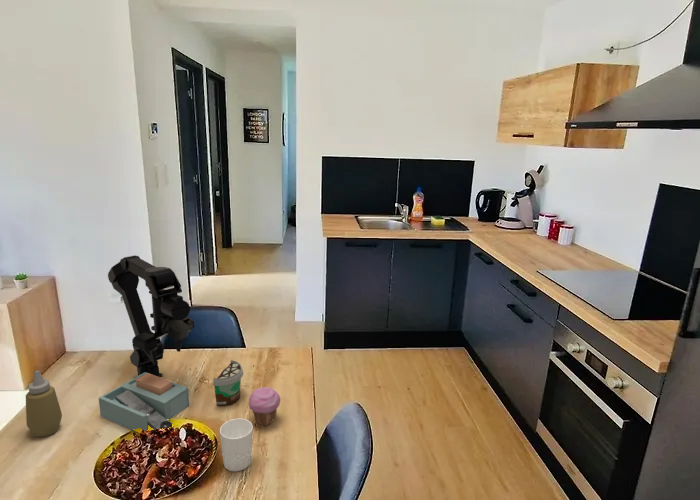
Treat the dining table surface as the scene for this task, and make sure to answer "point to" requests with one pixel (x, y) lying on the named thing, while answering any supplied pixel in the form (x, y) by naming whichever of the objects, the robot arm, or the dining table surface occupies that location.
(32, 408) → the squeeze bottle
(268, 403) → the cupcake
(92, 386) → the dining table surface
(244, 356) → the dining table surface
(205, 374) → the dining table surface
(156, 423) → the lever
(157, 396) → the jig
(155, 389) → the salmon orange rectangular block
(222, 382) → the food container
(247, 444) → the white cup
